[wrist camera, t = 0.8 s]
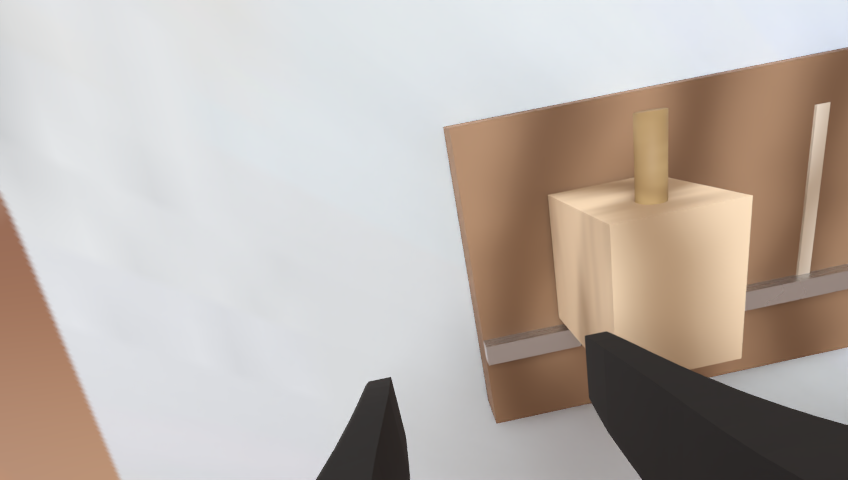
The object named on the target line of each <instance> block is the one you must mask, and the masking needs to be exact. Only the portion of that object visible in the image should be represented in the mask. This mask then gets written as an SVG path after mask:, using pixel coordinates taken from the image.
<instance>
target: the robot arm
mask: <svg viewBox="0 0 848 480" xmlns="http://www.w3.org/2000/svg"><path fill="white" fill-rule="evenodd" d="M585 349H586V363H587V377H588V392H589V399H590V400H591V402H592V404H593V406H594V408H595V410H596V412H597V413H598V415H599V417H600V419H601V421H602V422H603V424H604V426H605V428H606V429H607V431H608V433H609V434H610V436H611V437H612V438H613V440H614V441H615V443H616V444H617V445H618V447H619V448H620V450H621V451H622V452H623V454H624V455H625V457H626V458H627V459H628V461H629V462H630V463H631V465H632V466H633V468H634V469H635V470H636V472H637V473H638V474H639V476H640V477H641V479H642V480H848V425H845V424H841V423H838V422H834V421H831V420H827V419H824V418H820V417H817V416H813V415H810V414H807V413H804V412H801V411H797V410H794V409H791V408H788V407H785V406H782V405H779V404H776V403H774V402H771V401H768V400H765V399H762V398H759V397H756V396H753V395H751V394H748V393H745V392H743V391H740V390H737V389H735V388H732V387H730V386H727V385H725V384H722V383H720V382H718V381H715V380H713V379H710V378H708V377H705V376H703V375H701V374H698V373H696V372H694V371H691V370H689V369H687V368H685V367H682V366H680V365H678V364H676V363H674V362H672V361H669V360H667V359H665V358H663V357H661V356H659V355H657V354H654V353H652V352H650V351H648V350H646V349H644V348H642V347H640V346H638V345H636V344H634V343H632V342H629V341H627V340H625V339H623V338H621V337H619V336H617V335H614V334H612V333H610V332H607V331H605V332H600V333H596V334H591V335H586V336H585ZM316 480H410V473H409V462H408V452H407V442H406V435H405V431H404V427H403V423H402V419H401V415H400V411H399V407H398V403H397V399H396V395H395V391H394V388H393V384H392V380H391V377H389V378H384V379H380V380H375V381H370V382H368V383H367V385H366V386H365V388H364V391H363V393H362V395H361V398H360V400H359V402H358V404H357V406H356V408H355V410H354V413H353V415H352V417H351V419H350V421H349V423H348V425H347V426H346V428H345V430H344V432H343V434H342V436H341V438H340V440H339V442H338V443H337V445H336V447H335V449H334V451H333V452H332V454H331V456H330V457H329V459H328V461H327V462H326V464H325V466H324V467H323V469H322V471H321V472H320V474H319V476H318V477H317V479H316Z"/></svg>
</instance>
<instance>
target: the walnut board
mask: <svg viewBox="0 0 848 480" xmlns="http://www.w3.org/2000/svg"><path fill="white" fill-rule="evenodd" d="M657 108H668V177H669V178H673V179H678V180H683V181H687V182H692V183H697V184H701V185H706V186H711V187H715V188H720V189H725V190H729V191H734V192H739V193H743V194H748V195H753V200H752V215H751V229H750V243H749V257H748V271H747V285H749V284H753V283H758V282H763V281H768V280H772V279H777V278H782V277H787V276H791V275H802V274H806V273H810V271H815V270H820V269H824V268H829V267H834V266H838V265H843V264H848V47H847V48H842V49H837V50H832V51H826V52H821V53H816V54H811V55H806V56H801V57H796V58H791V59H786V60H781V61H776V62H771V63H766V64H761V65H755V66H750V67H745V68H740V69H735V70H730V71H725V72H720V73H715V74H710V75H705V76H700V77H695V78H690V79H684V80H679V81H674V82H669V83H664V84H659V85H654V86H649V87H644V88H639V89H634V90H629V91H624V92H618V93H613V94H608V95H603V96H598V97H593V98H588V99H583V100H578V101H573V102H568V103H563V104H558V105H553V106H547V107H542V108H537V109H532V110H527V111H522V112H517V113H512V114H507V115H502V116H497V117H492V118H487V119H481V120H476V121H471V122H466V123H461V124H456V125H451V126H446V127H443V128H444V134H445V140H446V146H447V152H448V158H449V164H450V170H451V177H452V183H453V189H454V195H455V201H456V207H457V213H458V219H459V225H460V231H461V237H462V243H463V249H464V255H465V262H466V268H467V274H468V280H469V286H470V292H471V298H472V304H473V310H474V316H475V322H476V328H477V334H478V340H479V346H480V353H481V359H482V365H483V371H484V377H485V383H486V389H487V395H488V401H489V403H490V406H491V409H492V412H493V415H494V418H495V420H496V423H501V422H506V421H511V420H515V419H520V418H524V417H529V416H534V415H538V414H543V413H547V412H552V411H557V410H561V409H566V408H570V407H575V406H580V405H584V404H589V403H592V402H591V400H590V399H589V392H588V377H587V363H586V349H585V348H584V346H579V347H574V348H569V349H565V350H560V351H555V352H551V353H546V354H541V355H537V356H532V357H527V358H522V359H518V360H513V361H508V362H504V363H499V364H494V365H490V366H489V364H488V362H487V359H486V354H485V348H484V342H483V341H484V340H489V339H494V338H498V337H503V336H508V335H513V334H517V333H522V332H527V331H532V330H536V329H541V328H546V327H550V326H555V325H560V324H564V323H563V322H562V321H561V319H560V318H559V312H558V301H557V290H556V279H555V268H554V257H553V246H552V235H551V224H550V213H549V202H548V195H550V194H555V193H560V192H565V191H570V190H575V189H580V188H585V187H589V186H594V185H599V184H604V183H609V182H614V181H619V180H624V179H629V178H634V145H633V113H635V112H639V111H644V110H650V109H657ZM846 347H848V289H846V290H841V291H836V292H832V293H827V294H822V295H818V296H813V297H808V298H803V299H799V300H794V301H789V302H785V303H780V304H775V305H771V306H766V307H761V308H757V309H752V310H747V311H745V314H744V328H743V343H742V357H741V359H736V360H732V361H727V362H723V363H718V364H713V365H709V366H704V367H700V368H695V369H690V370H691V371H694V372H696V373H698V374H701V375H703V376H705V377H713V376H718V375H722V374H727V373H731V372H736V371H741V370H745V369H750V368H754V367H759V366H764V365H768V364H773V363H777V362H782V361H787V360H791V359H796V358H800V357H805V356H810V355H814V354H819V353H823V352H828V351H833V350H837V349H842V348H846Z"/></svg>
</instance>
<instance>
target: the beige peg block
mask: <svg viewBox="0 0 848 480" xmlns="http://www.w3.org/2000/svg"><path fill="white" fill-rule="evenodd" d="M633 145H634V178H629V179H624V180H619V181H614V182H609V183H604V184H599V185H594V186H589V187H585V188H580V189H575V190H570V191H565V192H560V193H555V194H550V195H548V202H549V213H550V224H551V235H552V246H553V257H554V268H555V279H556V290H557V301H558V312H559V318H560V319H561V321H562V322H563V323H564V324H565V325H566V326H567V328H568V329H569V330H570V331H571V332H572V334H573V335H574V336H575V337H576V338H577V339H578V341H579V342H580V343H581V344H582V345H583V346H584V348H585V336H586V335H591V334H596V333H600V332H605V331H607V332H610V333H612V334H614V335H617V336H619V337H621V338H623V339H625V340H627V341H629V342H632V343H634V344H636V345H638V346H640V347H642V348H644V349H646V350H648V351H650V352H652V353H654V354H657V355H659V356H661V357H663V358H665V359H667V360H669V361H672V362H674V363H676V364H678V365H680V366H682V367H685V368H687V369H689V370H690V369H695V368H700V367H704V366H709V365H713V364H718V363H723V362H727V361H732V360H736V359H741V357H742V343H743V328H744V314H745V300H746V286H747V271H748V257H749V243H750V229H751V215H752V200H753V195H748V194H743V193H739V192H734V191H729V190H725V189H720V188H715V187H711V186H706V185H701V184H697V183H692V182H687V181H683V180H678V179H673V178H669V177H668V108H657V109H650V110H644V111H639V112H635V113H633Z"/></svg>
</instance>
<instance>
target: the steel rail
mask: <svg viewBox="0 0 848 480" xmlns="http://www.w3.org/2000/svg"><path fill="white" fill-rule="evenodd" d="M846 289H848V264H843V265H838V266H834V267H829V268H824V269H820V270H815V271H810V273H806V274H802V275H791V276H787V277H782V278H777V279H772V280H768V281H763V282H758V283H753V284H749V285H747V286H746V300H745V311H747V310H752V309H757V308H761V307H766V306H771V305H775V304H780V303H785V302H789V301H794V300H799V299H803V298H808V297H813V296H818V295H822V294H827V293H832V292H836V291H841V290H846ZM483 342H484V348H485V354H486V359H487V362H488V364H489V366H490V365H494V364H499V363H504V362H508V361H513V360H518V359H522V358H527V357H532V356H537V355H541V354H546V353H551V352H555V351H560V350H565V349H569V348H574V347H579V346H583V345H582V344H581V343H580V342H579V341H578V339H577V338H576V337H575V336H574V335H573V334H572V332H571V331H570V330H569V329H568V328H567V326H566V325H565V324H560V325H555V326H550V327H546V328H541V329H536V330H532V331H527V332H522V333H517V334H513V335H508V336H503V337H498V338H494V339H489V340H484V341H483Z"/></svg>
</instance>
